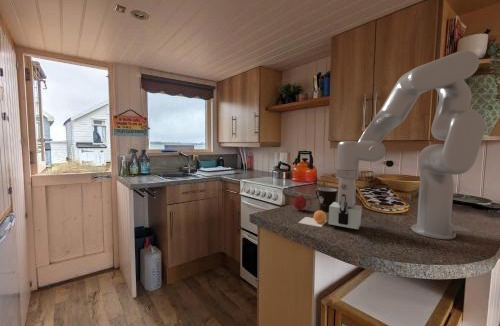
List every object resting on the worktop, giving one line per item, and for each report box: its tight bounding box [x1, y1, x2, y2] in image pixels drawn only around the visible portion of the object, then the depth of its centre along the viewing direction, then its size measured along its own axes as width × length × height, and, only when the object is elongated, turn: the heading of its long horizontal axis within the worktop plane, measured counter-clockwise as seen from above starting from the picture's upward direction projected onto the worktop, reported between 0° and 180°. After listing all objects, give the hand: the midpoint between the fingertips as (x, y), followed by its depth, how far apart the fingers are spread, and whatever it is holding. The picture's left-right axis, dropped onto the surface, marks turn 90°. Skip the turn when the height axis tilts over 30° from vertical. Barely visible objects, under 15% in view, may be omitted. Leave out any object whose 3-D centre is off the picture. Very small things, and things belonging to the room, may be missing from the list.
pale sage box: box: [328, 201, 363, 230], centre depth 91 cm, size 10×8×7 cm
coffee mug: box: [315, 187, 338, 213], centre depth 116 cm, size 12×9×10 cm
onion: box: [292, 193, 307, 211], centre depth 113 cm, size 6×6×8 cm
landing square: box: [297, 216, 328, 228], centre depth 97 cm, size 9×9×1 cm
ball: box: [313, 209, 327, 223], centre depth 96 cm, size 5×5×5 cm
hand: (345, 220), depth 91 cm, fingers closed on pale sage box, 7 cm apart
